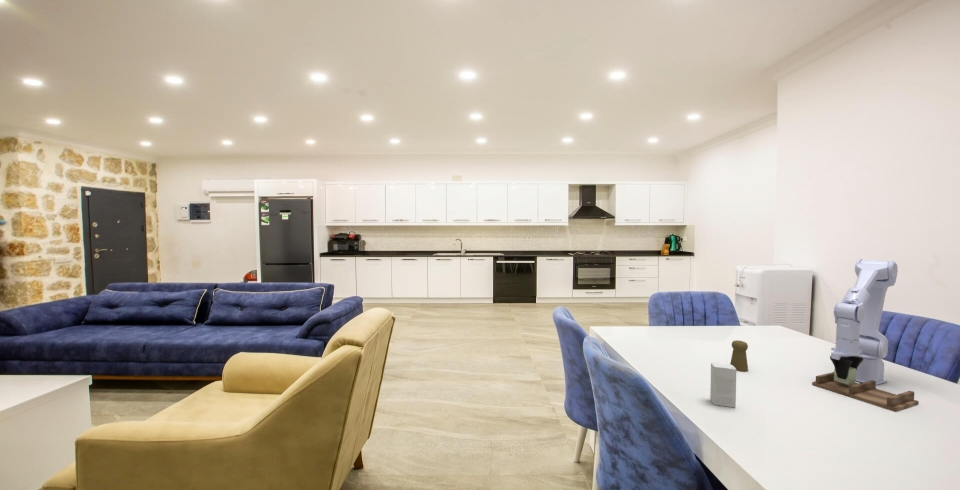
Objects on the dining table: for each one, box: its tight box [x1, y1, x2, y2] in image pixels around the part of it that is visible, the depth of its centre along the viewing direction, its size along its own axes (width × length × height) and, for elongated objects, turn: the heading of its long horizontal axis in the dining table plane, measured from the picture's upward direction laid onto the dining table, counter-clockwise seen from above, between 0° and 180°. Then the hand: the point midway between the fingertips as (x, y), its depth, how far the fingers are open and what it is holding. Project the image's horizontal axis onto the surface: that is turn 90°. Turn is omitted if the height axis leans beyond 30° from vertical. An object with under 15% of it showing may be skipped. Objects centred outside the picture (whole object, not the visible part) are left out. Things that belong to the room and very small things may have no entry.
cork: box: [729, 340, 749, 373], centre depth 147 cm, size 6×6×11 cm
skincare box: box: [709, 362, 737, 408], centre depth 117 cm, size 6×4×12 cm
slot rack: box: [811, 371, 920, 413], centre depth 125 cm, size 14×21×4 cm, turn 22°
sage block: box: [833, 367, 856, 385], centre depth 129 cm, size 4×4×5 cm
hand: (845, 377), depth 129 cm, fingers closed on sage block, 4 cm apart
